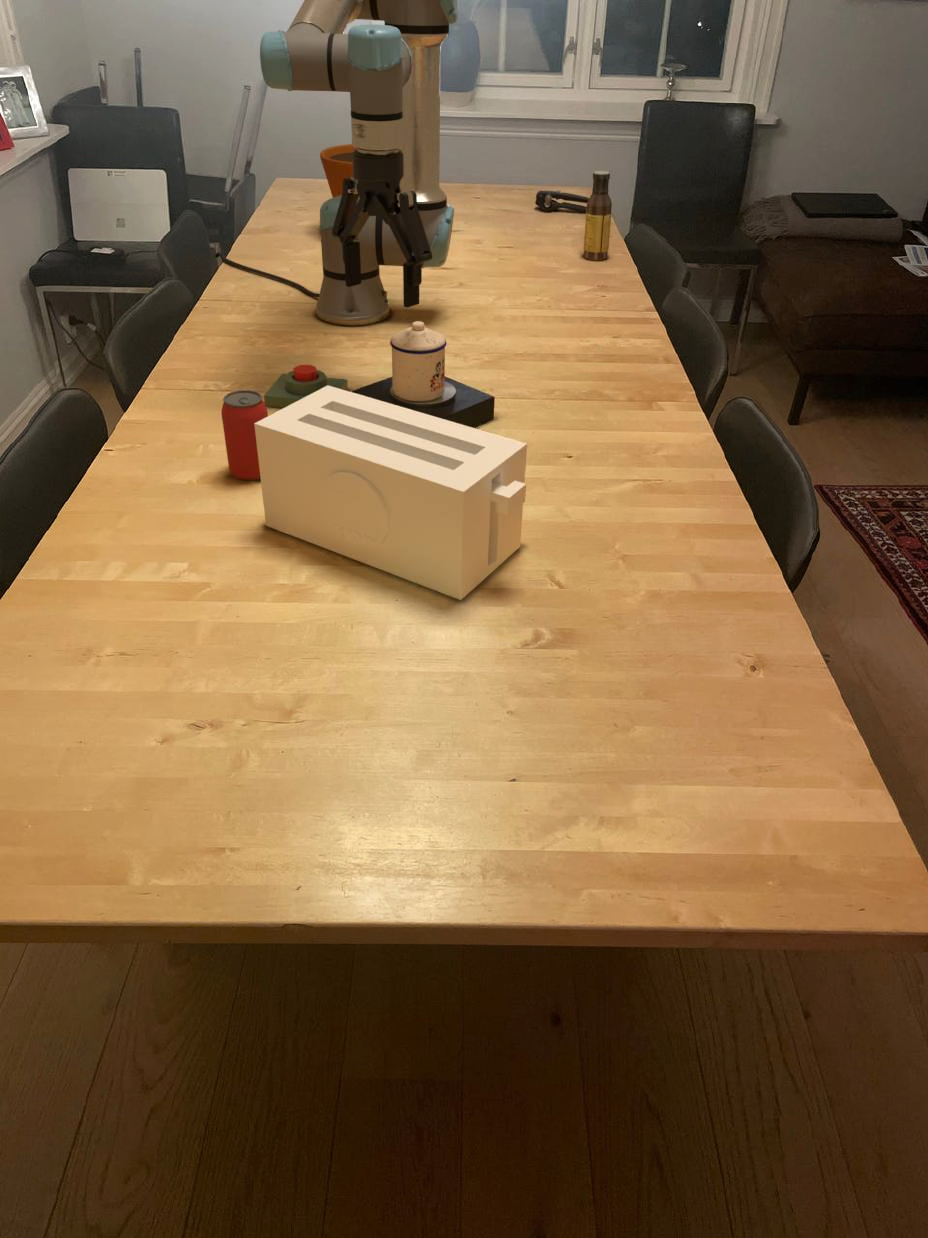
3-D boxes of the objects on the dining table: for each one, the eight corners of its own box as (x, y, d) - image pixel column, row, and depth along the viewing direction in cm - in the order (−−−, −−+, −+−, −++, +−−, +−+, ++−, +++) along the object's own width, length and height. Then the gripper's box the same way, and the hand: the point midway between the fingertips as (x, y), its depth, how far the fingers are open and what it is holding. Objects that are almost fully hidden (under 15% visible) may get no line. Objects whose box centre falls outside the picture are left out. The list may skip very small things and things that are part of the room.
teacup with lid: (441, 404, 156) (442, 334, 149) (386, 400, 157) (384, 330, 150) (451, 376, 165) (452, 309, 159) (399, 372, 166) (398, 305, 159)
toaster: (262, 528, 132) (250, 425, 123) (334, 482, 143) (327, 385, 134) (478, 611, 118) (482, 502, 109) (539, 553, 129) (548, 449, 120)
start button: (290, 381, 164) (290, 372, 163) (298, 373, 168) (297, 363, 167) (313, 383, 164) (312, 374, 163) (320, 375, 167) (319, 365, 166)
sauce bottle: (602, 253, 244) (611, 168, 232) (610, 260, 239) (620, 174, 227) (578, 254, 242) (586, 169, 231) (586, 261, 238) (594, 174, 226)
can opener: (533, 212, 276) (534, 191, 272) (535, 206, 281) (537, 185, 278) (594, 216, 273) (597, 195, 270) (596, 210, 279) (598, 189, 276)
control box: (264, 406, 165) (262, 384, 162) (283, 383, 173) (281, 362, 170) (332, 413, 163) (331, 390, 161) (348, 389, 171) (346, 368, 169)
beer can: (236, 485, 142) (226, 410, 135) (224, 466, 147) (213, 392, 140) (279, 476, 145) (272, 402, 137) (265, 458, 149) (257, 385, 142)
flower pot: (413, 250, 242) (412, 164, 230) (319, 247, 242) (313, 161, 230) (418, 225, 261) (417, 144, 249) (331, 222, 261) (326, 142, 249)
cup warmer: (351, 411, 164) (349, 386, 161) (419, 386, 173) (419, 361, 170) (425, 447, 154) (425, 421, 151) (493, 418, 163) (495, 393, 160)
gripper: (303, 139, 145) (313, 281, 158) (419, 167, 131) (419, 320, 144) (341, 133, 149) (348, 272, 162) (456, 159, 136) (454, 308, 149)
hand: (381, 294), depth 153 cm, fingers open, 13 cm apart
